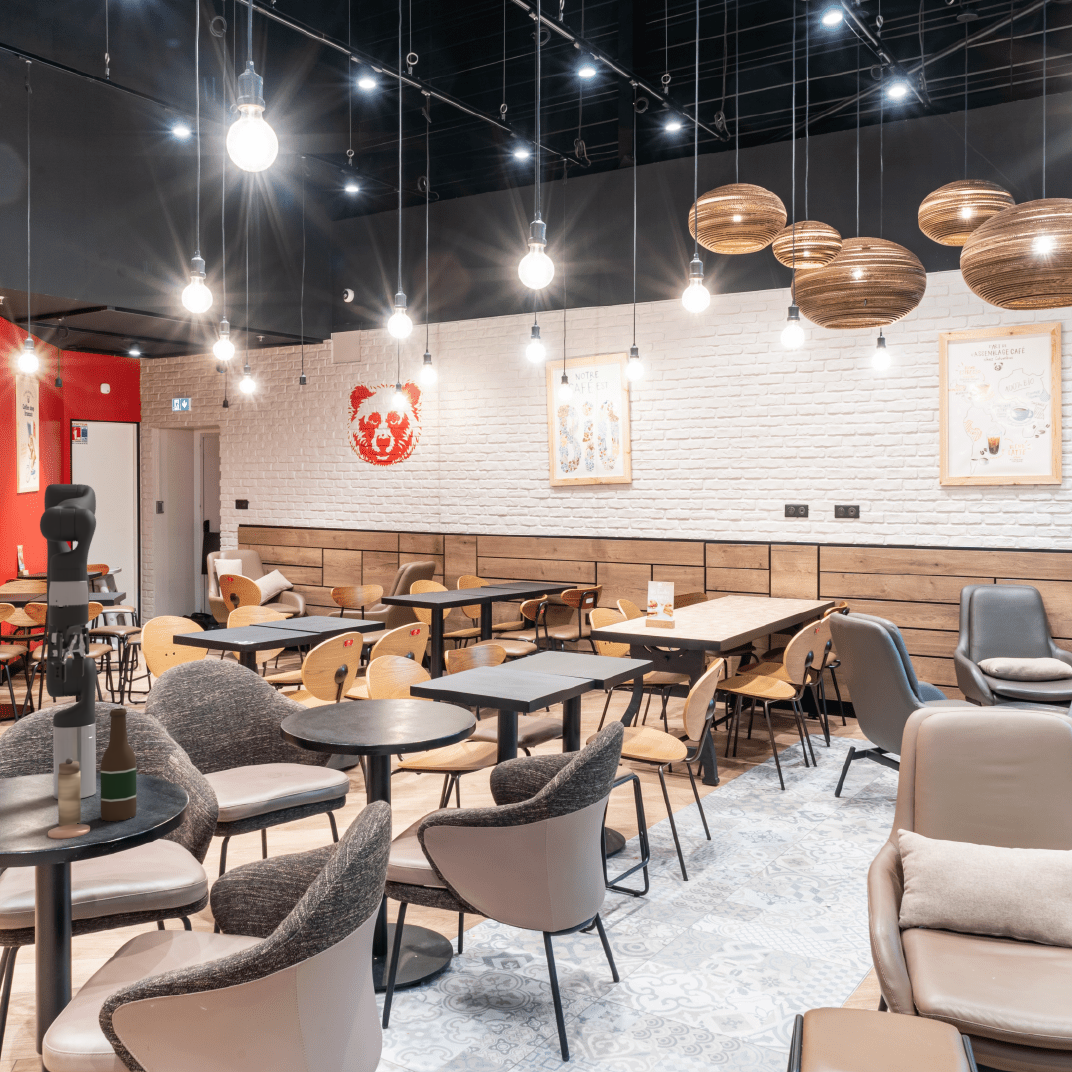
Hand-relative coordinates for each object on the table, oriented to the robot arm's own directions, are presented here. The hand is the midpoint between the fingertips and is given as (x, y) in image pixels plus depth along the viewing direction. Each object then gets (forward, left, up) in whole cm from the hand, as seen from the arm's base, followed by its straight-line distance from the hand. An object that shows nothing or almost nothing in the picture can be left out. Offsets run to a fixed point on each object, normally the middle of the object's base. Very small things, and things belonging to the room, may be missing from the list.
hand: (69, 679), depth 200 cm
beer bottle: (-11, +6, -33) cm, 35 cm away
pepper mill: (-7, -3, -32) cm, 33 cm away
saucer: (0, 0, -32) cm, 32 cm away
